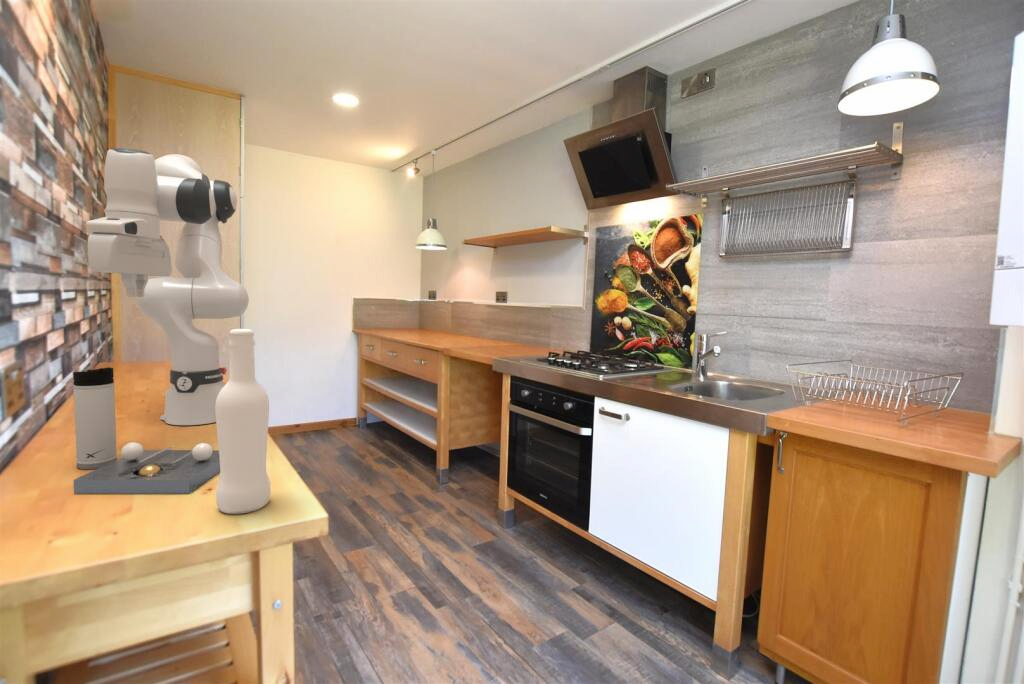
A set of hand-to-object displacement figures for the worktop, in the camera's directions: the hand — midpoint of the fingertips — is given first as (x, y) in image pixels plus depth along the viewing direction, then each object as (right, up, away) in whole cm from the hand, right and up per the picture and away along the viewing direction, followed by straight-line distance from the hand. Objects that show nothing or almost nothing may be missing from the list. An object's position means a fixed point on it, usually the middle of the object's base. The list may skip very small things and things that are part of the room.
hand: (135, 296), depth 103 cm
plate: (+11, -35, -7) cm, 38 cm away
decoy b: (+4, -31, -6) cm, 32 cm away
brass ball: (+11, -34, -11) cm, 37 cm away
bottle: (+33, -37, -19) cm, 53 cm away
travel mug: (-6, -35, -2) cm, 35 cm away
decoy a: (+17, -31, -5) cm, 36 cm away
